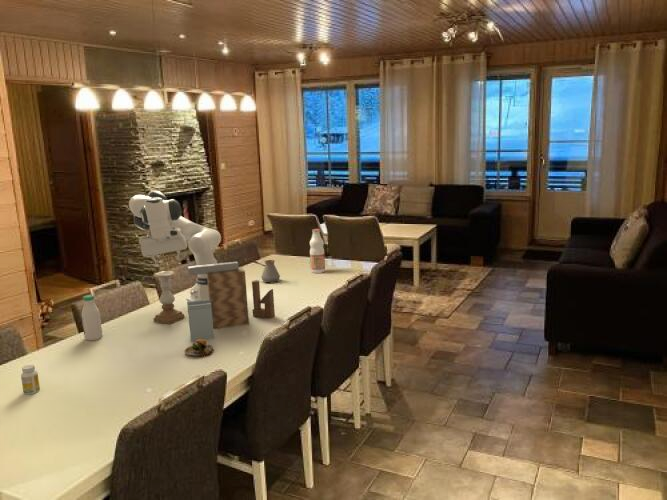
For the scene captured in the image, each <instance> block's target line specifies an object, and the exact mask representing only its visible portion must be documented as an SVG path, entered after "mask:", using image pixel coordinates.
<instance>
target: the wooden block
mask: <svg viewBox="0 0 667 500" xmlns="http://www.w3.org/2000/svg"><path fill="white" fill-rule="evenodd" d="M260 287H261V286H260V279H259V280H257V279H255V280H251V288H252V299H253V300H252V301H253V308H252V317H256V318H266V319H272V318H274V317H275V316H276V314H275V313H276V312H275V299H274V288H271V289H269V291H268V292H267V293H265V295H264V296H263V297H261V288H260ZM262 304H263V305H264V308H263V307H262Z"/></svg>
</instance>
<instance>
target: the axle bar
mask: <svg viewBox="0 0 667 500" xmlns="http://www.w3.org/2000/svg"><path fill="white" fill-rule="evenodd" d="M239 267H240V266H239V261H229V262H220V263H218V262H217V264H207V265H198V266H197V265H191V266H189V265H188V266H187V273H188V276H198V275H200V274H210V273H219V272H228V271H238V270H239Z"/></svg>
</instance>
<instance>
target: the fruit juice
mask: <svg viewBox="0 0 667 500" xmlns="http://www.w3.org/2000/svg"><path fill="white" fill-rule="evenodd" d="M311 232H312V234H311V238H310V240H309V246H310V249H309V260H310V263H309V264H310V272H311V273H312V274H321V273H325V272H326V260H325V259H326V257H325V249H324V244H325V243H324V240H323V238H322V237H321V234H320V232H321V230H320V228H313V229H312V230H311Z"/></svg>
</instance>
